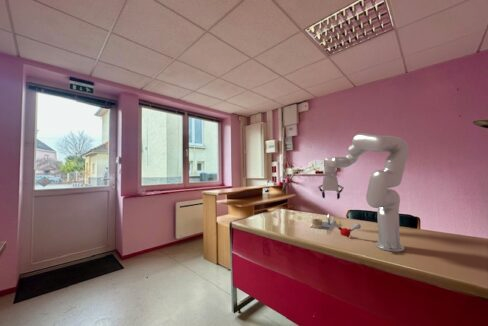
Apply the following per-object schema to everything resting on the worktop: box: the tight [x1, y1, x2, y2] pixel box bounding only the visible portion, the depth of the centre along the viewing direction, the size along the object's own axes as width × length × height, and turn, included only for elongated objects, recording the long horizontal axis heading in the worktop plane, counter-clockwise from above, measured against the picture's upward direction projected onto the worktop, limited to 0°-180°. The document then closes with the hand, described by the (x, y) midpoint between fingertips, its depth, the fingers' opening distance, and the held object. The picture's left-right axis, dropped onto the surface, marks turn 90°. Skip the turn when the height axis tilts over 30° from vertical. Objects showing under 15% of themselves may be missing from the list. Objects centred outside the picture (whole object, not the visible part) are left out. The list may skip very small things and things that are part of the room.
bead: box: [312, 218, 323, 229], centre depth 145 cm, size 6×6×5 cm
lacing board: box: [309, 221, 338, 232], centre depth 148 cm, size 20×15×2 cm
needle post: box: [326, 213, 332, 225], centre depth 151 cm, size 2×2×8 cm
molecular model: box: [330, 219, 362, 238], centre depth 127 cm, size 18×6×10 cm, turn 50°
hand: (330, 198), depth 146 cm, fingers open, 9 cm apart
